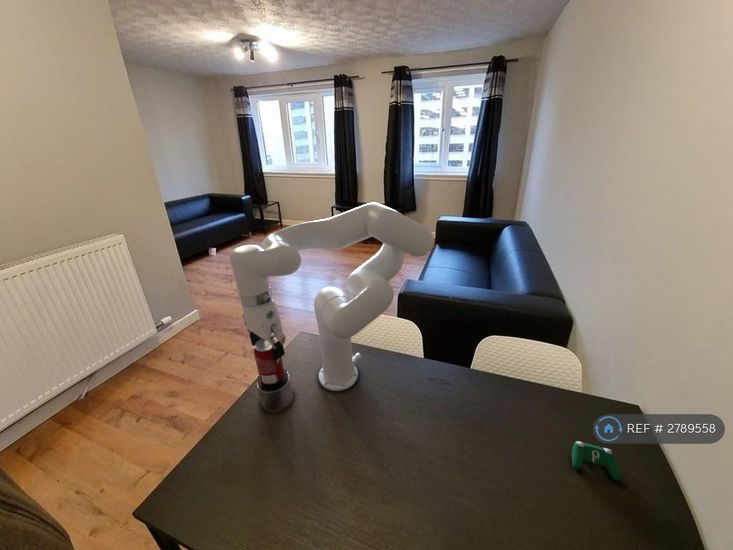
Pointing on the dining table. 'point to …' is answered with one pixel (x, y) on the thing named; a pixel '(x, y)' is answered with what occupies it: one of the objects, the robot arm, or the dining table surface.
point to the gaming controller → (595, 458)
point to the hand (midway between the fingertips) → (268, 349)
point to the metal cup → (275, 394)
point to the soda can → (268, 363)
